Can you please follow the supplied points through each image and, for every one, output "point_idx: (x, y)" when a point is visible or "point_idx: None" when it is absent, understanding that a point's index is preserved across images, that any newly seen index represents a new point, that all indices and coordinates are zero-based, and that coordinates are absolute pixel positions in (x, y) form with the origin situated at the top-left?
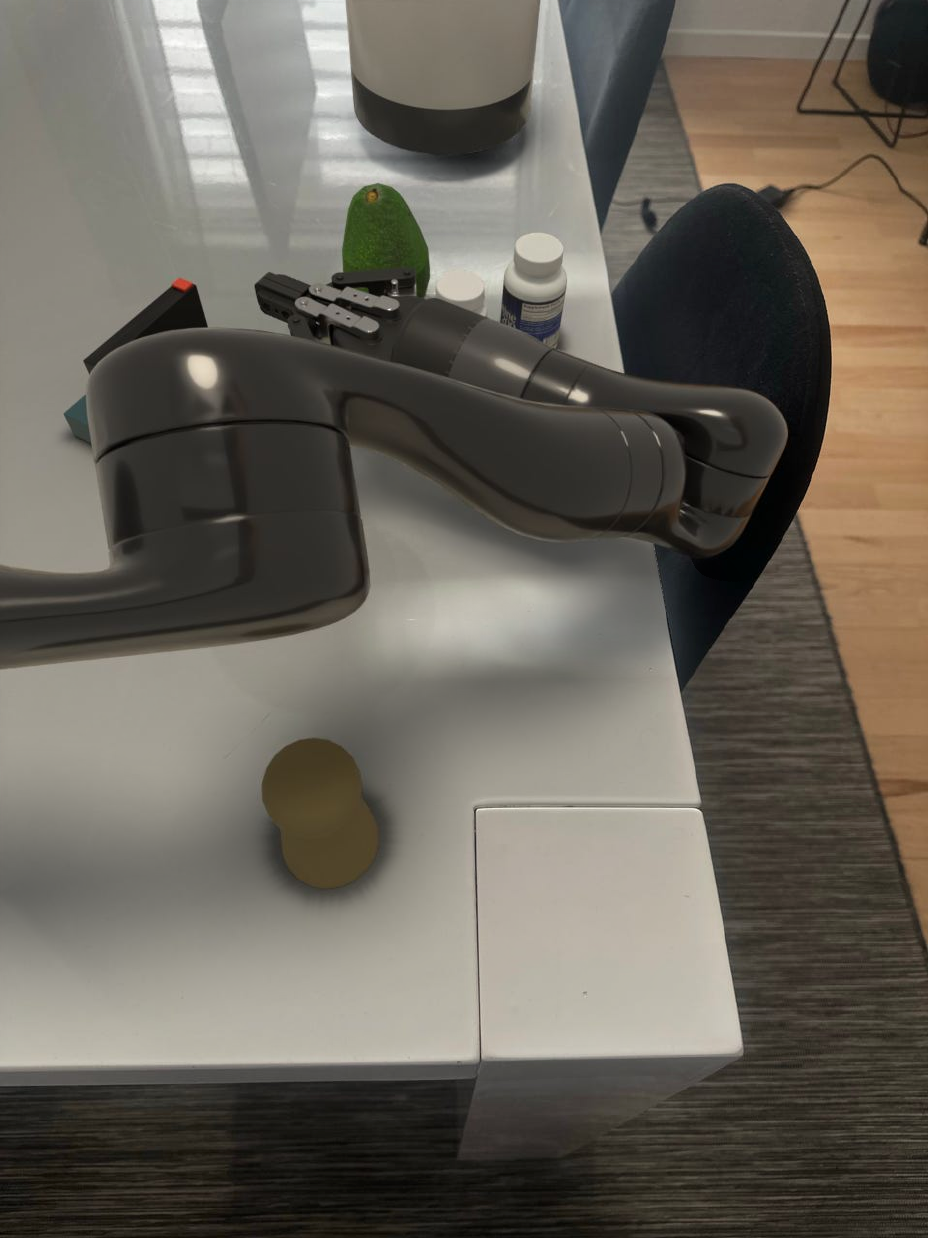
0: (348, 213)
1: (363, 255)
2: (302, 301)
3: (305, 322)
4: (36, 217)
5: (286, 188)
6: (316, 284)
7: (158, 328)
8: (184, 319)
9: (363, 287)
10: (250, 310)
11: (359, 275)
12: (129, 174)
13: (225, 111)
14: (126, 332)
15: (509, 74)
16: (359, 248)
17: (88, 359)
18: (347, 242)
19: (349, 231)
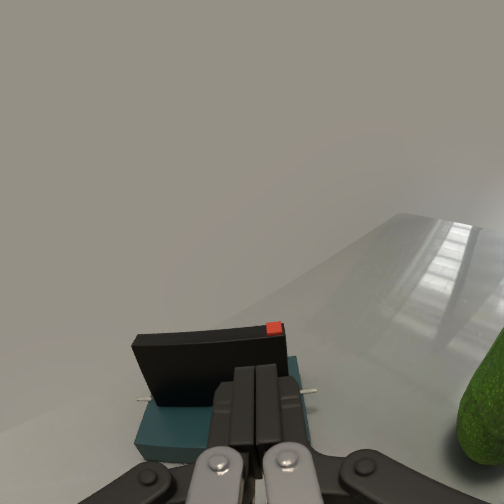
0: (499, 335)
1: (490, 392)
2: (213, 461)
3: (147, 499)
4: (324, 271)
5: (471, 306)
6: (299, 448)
7: (214, 351)
8: (255, 359)
9: (469, 425)
10: (375, 381)
11: (411, 491)
12: (388, 269)
13: (461, 259)
14: (183, 336)
15: None
16: (490, 381)
17: (139, 336)
18: (482, 367)
19: (490, 356)
